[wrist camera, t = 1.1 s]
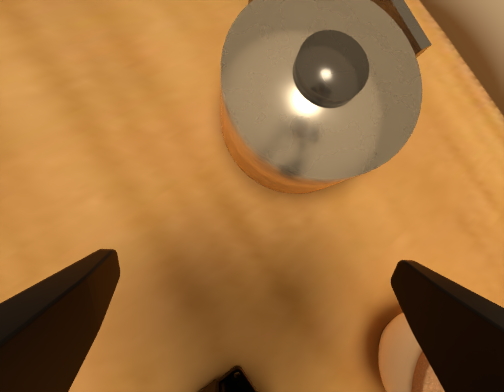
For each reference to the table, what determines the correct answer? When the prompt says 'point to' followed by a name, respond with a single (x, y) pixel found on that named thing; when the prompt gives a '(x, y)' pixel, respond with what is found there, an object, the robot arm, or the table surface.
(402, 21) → the centering jig
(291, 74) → the cover
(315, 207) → the table surface
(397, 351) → the lidded jar
